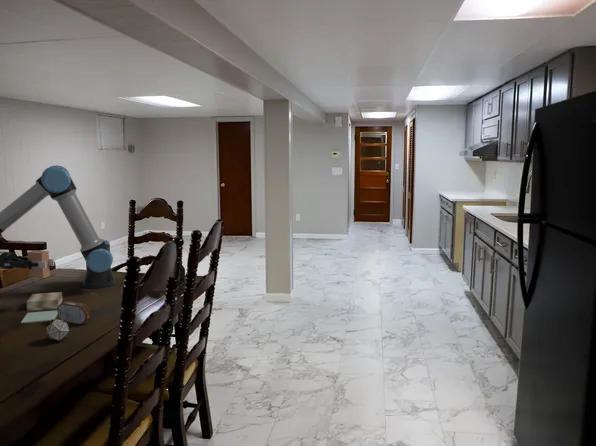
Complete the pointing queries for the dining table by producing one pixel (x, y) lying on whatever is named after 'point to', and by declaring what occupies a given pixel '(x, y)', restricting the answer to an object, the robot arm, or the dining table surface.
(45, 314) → the mat
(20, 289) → the dining table surface
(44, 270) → the tan upright block
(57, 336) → the game die
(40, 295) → the beige stone slab
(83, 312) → the portable speaker
